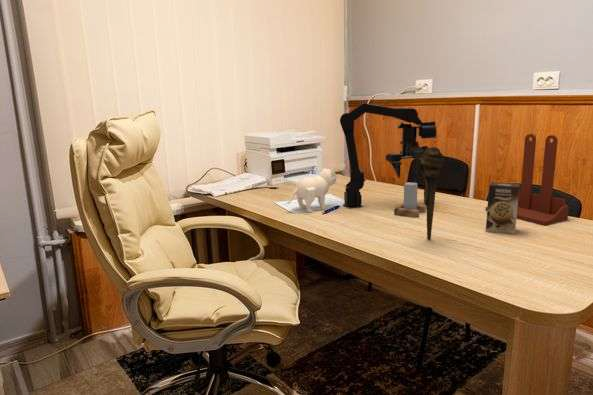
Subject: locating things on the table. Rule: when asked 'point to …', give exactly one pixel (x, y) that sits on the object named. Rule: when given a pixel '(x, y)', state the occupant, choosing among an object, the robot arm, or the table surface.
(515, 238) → the table surface
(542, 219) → the hanging shelf
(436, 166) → the decorative torch
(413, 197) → the peg
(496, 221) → the coffee box
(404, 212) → the slot block
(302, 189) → the cat figurine
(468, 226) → the table surface
